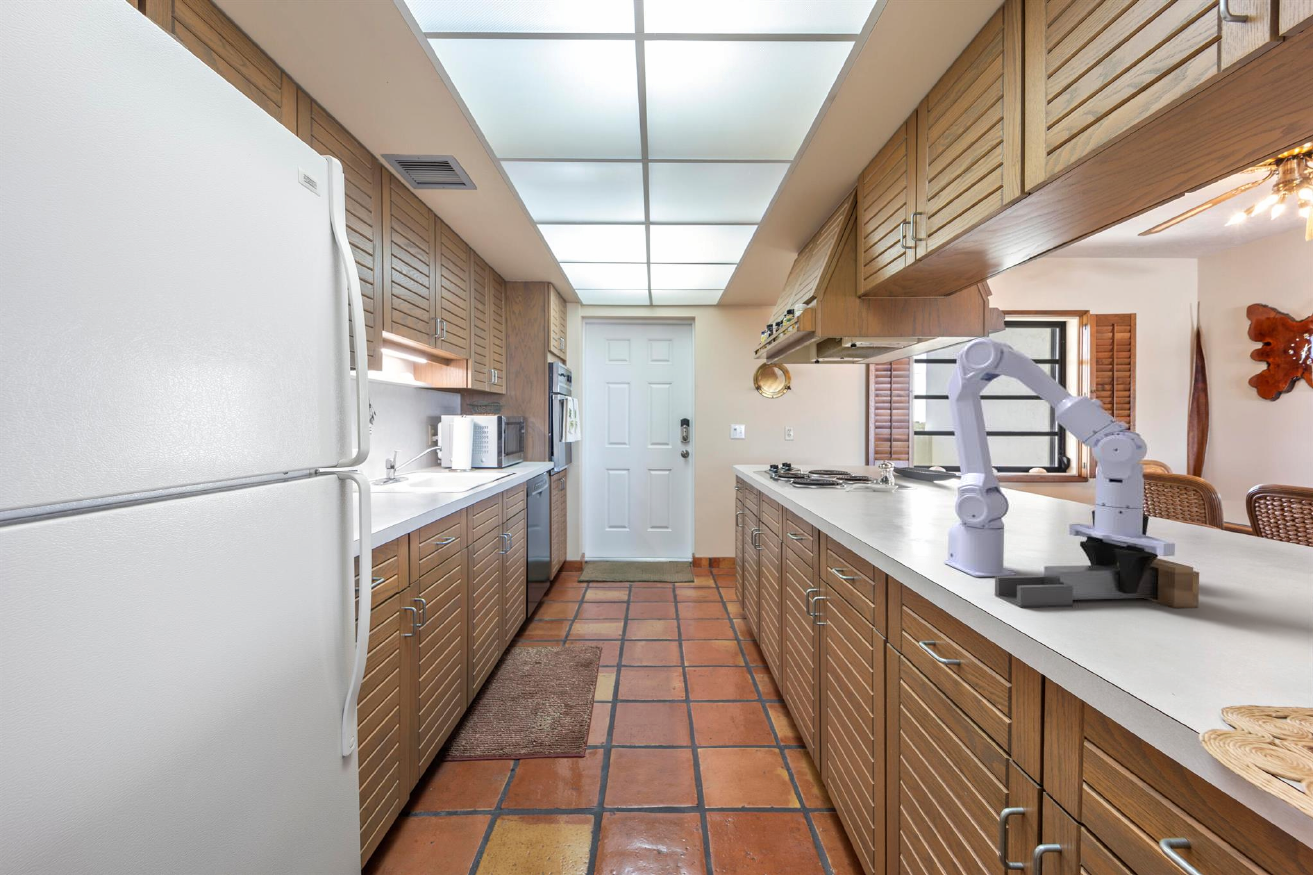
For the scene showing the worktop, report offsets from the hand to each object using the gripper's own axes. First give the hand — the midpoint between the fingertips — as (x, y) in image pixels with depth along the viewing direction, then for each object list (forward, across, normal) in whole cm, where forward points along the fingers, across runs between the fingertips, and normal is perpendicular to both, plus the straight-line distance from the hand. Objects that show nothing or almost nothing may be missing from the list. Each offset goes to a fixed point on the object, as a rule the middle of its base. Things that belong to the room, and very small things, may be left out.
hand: (1116, 588), depth 82 cm
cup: (+2, -9, +12) cm, 15 cm away
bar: (+2, 0, -2) cm, 3 cm away
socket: (+2, +1, +7) cm, 7 cm away
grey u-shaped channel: (+2, -1, -14) cm, 14 cm away
